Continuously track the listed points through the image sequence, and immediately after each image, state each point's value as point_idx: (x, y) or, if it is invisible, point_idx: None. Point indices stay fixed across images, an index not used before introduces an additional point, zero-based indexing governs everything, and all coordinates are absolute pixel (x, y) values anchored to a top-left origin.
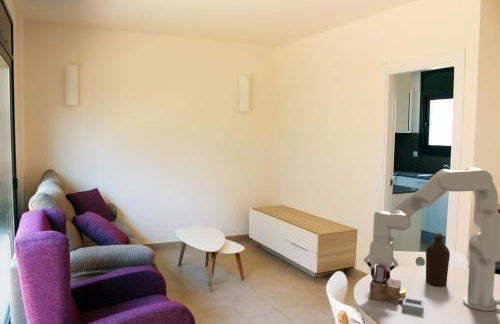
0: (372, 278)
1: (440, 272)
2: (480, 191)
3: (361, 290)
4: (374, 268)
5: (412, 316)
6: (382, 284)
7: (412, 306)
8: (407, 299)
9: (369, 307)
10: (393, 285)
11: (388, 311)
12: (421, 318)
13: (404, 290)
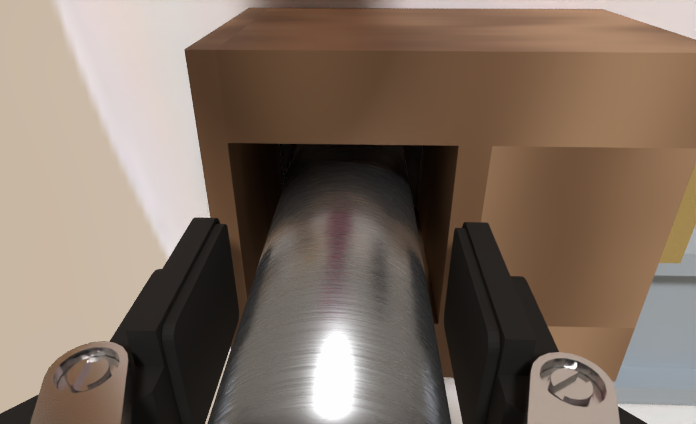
0: (204, 176)
1: None
2: None
3: (122, 62)
4: (174, 359)
5: (627, 410)
6: None
7: (670, 402)
8: (663, 269)
9: None
10: (549, 321)
11: (451, 400)
12: (691, 415)
13: (690, 196)
